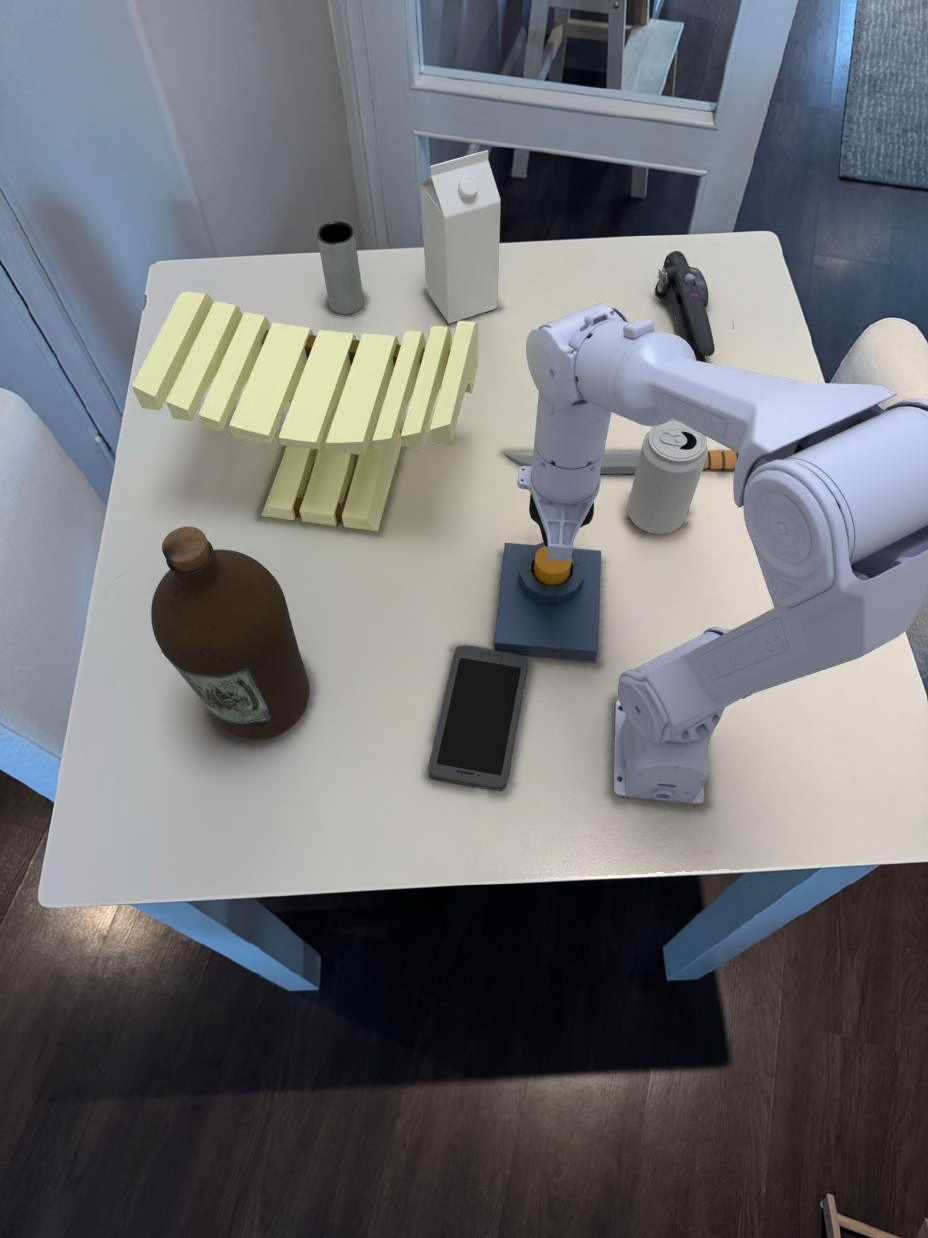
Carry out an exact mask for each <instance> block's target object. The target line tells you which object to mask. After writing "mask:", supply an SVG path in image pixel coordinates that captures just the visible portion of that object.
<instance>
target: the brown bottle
mask: <svg viewBox="0 0 928 1238" xmlns="http://www.w3.org/2000/svg"><path fill="white" fill-rule="evenodd" d="M161 552H162V554H163V556H164V558H165V561H166V565H167V567H168V568H169V570H167V571H166V573H165V574H164V575H163V576H162V578H161V579H160V581H159V583H158V585H157V586H156V588H155V591H154V594H153V596H152V601H151V606H150V617H151V618H150V619H151V627H152V628H151V629H152V632H153V636H154V639H155V641H156V643H157V645H158V647H159V650H160V653H162V654H163V656H164V657H165V658H166V659H167V660H168V661H169V663H170V664H171V665H172V667H174V668H175V670H176V671H177V673H179V674H180V675H181V677H182V678H183V679H184V680H185V681H186V683H187V684H188V685H189V687H190V688H191V689H192V690H193V692H194V693H195V694H196V695H197V696H198V698H199V699H200V700H201V701H202V703H203V704H204V705H205V707H206V708H207V709H208V711H209V712H210V713H211V714H212V716H213V717H214V718H215V719H216V722H218V724H219V725H220V726H221V727H222V728H223V729H224V730H225V731H227V732H228V733H230V734H232V735H233V736H234V737H235V736H236V737H238V738H241V739H244V740H245V739H246V740H264V739H269V738H272V737H275V736H279V735H280V734H282V733H284V732H285V731H287V730H289V729H290V728H291V727H292V726H293V725H294V724H295V723H296V722H298V720H299V719H300V718H301V717H302V715H303V714H304V712H305V710H306V708H307V705H308V702H309V698H310V681H309V678H308V674H307V671H306V667H305V664H304V662H303V659H302V655H301V652H300V647H299V645H298V641H297V637H296V634H295V630H294V627H293V623H292V619H291V615H290V612H289V607H288V604H287V599H286V597H285V594H284V591H283V589H282V586H281V585H280V583H279V582H278V580H277V579H276V576H274V575H273V574H272V573H271V572H270V570H269V569H268V568H267V567H266V566H264V565H263V564H262V563H261V562H259V561H258V560H257V559H254V558H253V557H251V556H249V555H248V554H245V553H243V552H240V551H237V550H233V549H232V550H231V549H218V548H217V549H214V547H213V545H212V543H211V542H210V541H209V540H208V538H207V536H206V534H205V532H203V531H202V530H201V529H200V528H198V527H195V526H181V527H178V528H176V529H173V530H172V531H170V532H169V533H168V534H167V535H166V536H165V538H164V539H163V541H162V544H161Z"/></svg>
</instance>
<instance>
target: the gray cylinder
mask: <svg viewBox="0 0 928 1238" xmlns="http://www.w3.org/2000/svg"><path fill="white" fill-rule="evenodd" d="M316 238H317V244H318V249H319V255H320V260H321V265H322V271H323V277H324V283H325V289H326V293H327V294H326V295H327V300H328V304H329V307H330V309H331V310H332V311H333V312H334V313H337V314H339V315H352V314H354V313H357V312H359V311H360V310H361V309H362V307H363V306H364V302H365V301H364V292H363V285H362V277H361V269H360V264H359V262H360V261H359V255H358V247H357V240H356V233H355V229H354V227H353V226H352V225H351V224H350V223H347V222H346V221H341V220H336V221H335V220H334V221H329V222H326V223H324V224H322V225H321V226H320V227H319V228H318V229H317V232H316Z"/></svg>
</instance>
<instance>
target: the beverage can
mask: <svg viewBox="0 0 928 1238" xmlns="http://www.w3.org/2000/svg"><path fill="white" fill-rule="evenodd" d="M642 440H643V441H642V443H641V447H640V450H641V452H640V456H639V460H638V464H637V468H636V472H635V474H634V477H633V481H632V485H631V490H630V494H629V497H628V501H627V514H628V517H629V518H630V520H631V522H632V523H633V524H634V525H635V526H637V527H638V528H639V529H641V530H642V531H645V532H648V533H651V534H655V535H657V534H658V535H661V534H662V535H663V534H664V535H665V534H670V533H672V532H675V531H676V530H678V529H679V528H680V527H681V526H682V525H683V524H684V523H685V521H686V519H687V516H688V514H689V510H690V507H691V504H692V501H693V498H694V495H695V493H696V489H697V487H698V484H699V481H700V478H701V475H702V472H703V470H704V469H703V467H704V464H705V461H706V458H707V454H708V450H709V449H708V437H707V436H705V435H703V434H701V433H699V432H697V431H696V430H694V429H692V428H690V427H688V426H686V425H684V424H683V423H681V422H679V421H677V420H675V419H671V420H670V421H668V422H666V423H664V424H661V425H658V426H651V428H650V429H649V431H648V432H647V433H646V434H645V436H644V438H643V439H642Z"/></svg>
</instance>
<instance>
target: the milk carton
mask: <svg viewBox="0 0 928 1238" xmlns="http://www.w3.org/2000/svg"><path fill="white" fill-rule="evenodd" d="M429 167H430V168H429V170H430V171H429V173H430V175H429V176H428V177H427V178H426V179H425V180H423V181H422V182H420V184H419V188H420V189H419V190H420V203H421V204H420V205H421V221H422V222H421V223H422V239H423V240H422V241H423V254H424V255H423V256H424V270H425V271H424V272H425V290H426V293H427V295H428V296H429V297H430V299H431V300H432V301H433V303H434V304H435V306H436V308H437V309H438V311H439V312H440V313H441V315H442V316H443V318H444V319H445V320H446V322H447V323H448V324H452V323H455V322H458V321H463V320H465V319H468V318H471V317H474V316H477V315H480V314H484V313H487V312H490V311H492V310H495V309H497V308H498V306H499V276H500V275H499V269H500V241H501V240H500V238H501V236H500V233H501V196H500V193H499V190H498V187H497V183H496V181H495V178H494V174H493V171H492V168H491V163H490V161H489V150H488V149H486V150H482V151H478V152H475V153H471V154H468V155H465V156H461V157H457V158H453V159H450V160H446V161H442V162H439V163H436V164H432V165H430V166H429Z"/></svg>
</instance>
